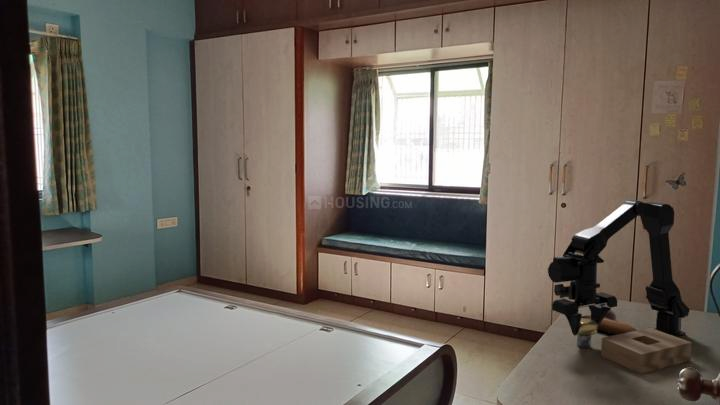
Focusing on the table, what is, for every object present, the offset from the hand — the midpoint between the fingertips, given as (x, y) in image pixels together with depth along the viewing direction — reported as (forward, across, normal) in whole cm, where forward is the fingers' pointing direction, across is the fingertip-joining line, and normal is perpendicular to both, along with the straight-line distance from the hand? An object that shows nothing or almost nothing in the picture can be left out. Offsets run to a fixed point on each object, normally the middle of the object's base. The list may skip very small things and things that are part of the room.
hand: (584, 333), depth 143 cm
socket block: (+4, -8, +13) cm, 16 cm away
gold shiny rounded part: (+4, 0, 0) cm, 4 cm away
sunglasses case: (+5, -17, -5) cm, 18 cm away
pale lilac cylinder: (+4, -26, -17) cm, 31 cm away
